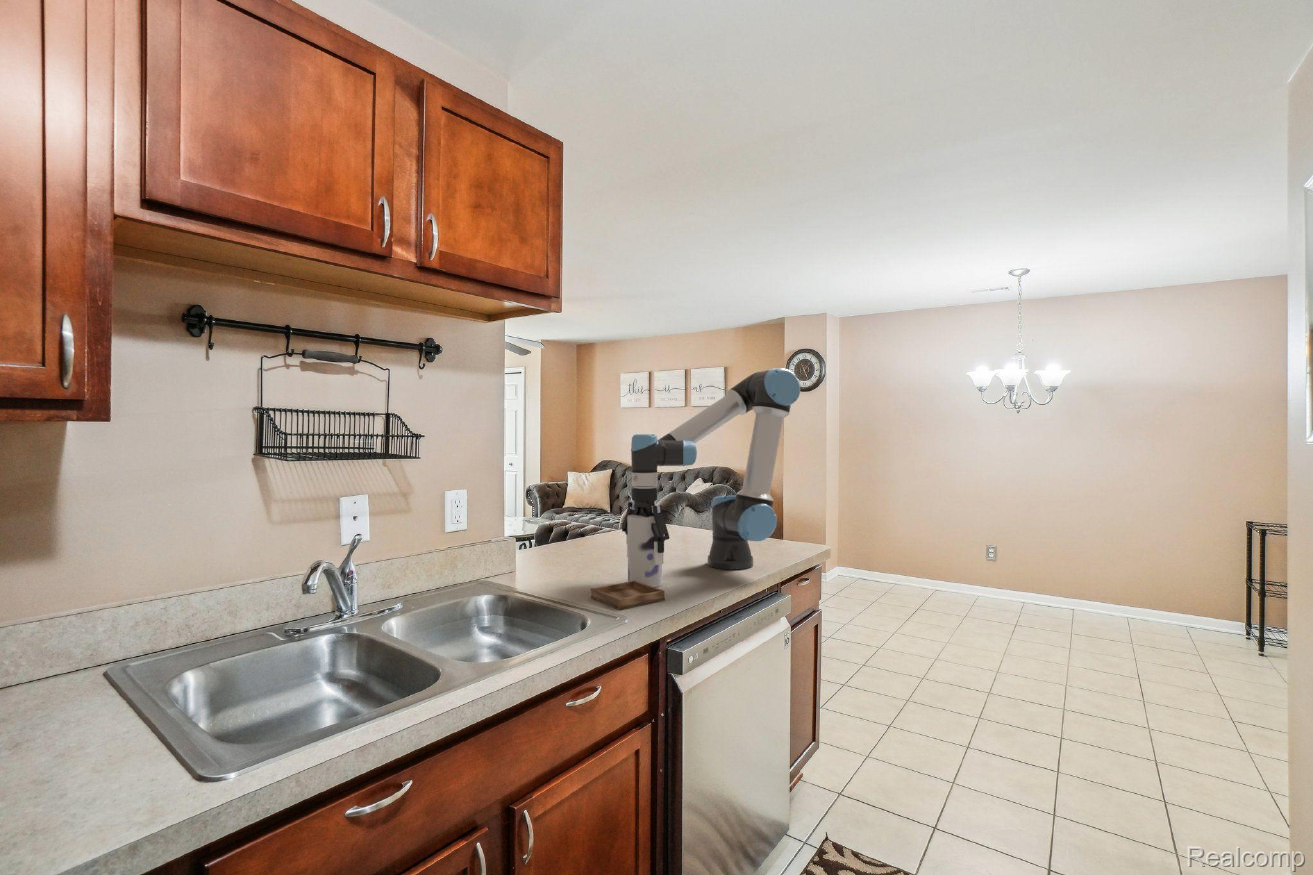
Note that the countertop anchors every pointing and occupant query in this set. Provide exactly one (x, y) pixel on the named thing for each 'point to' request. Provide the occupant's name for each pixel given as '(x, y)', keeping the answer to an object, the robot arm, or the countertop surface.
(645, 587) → the stand
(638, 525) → the container
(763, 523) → the robot arm
